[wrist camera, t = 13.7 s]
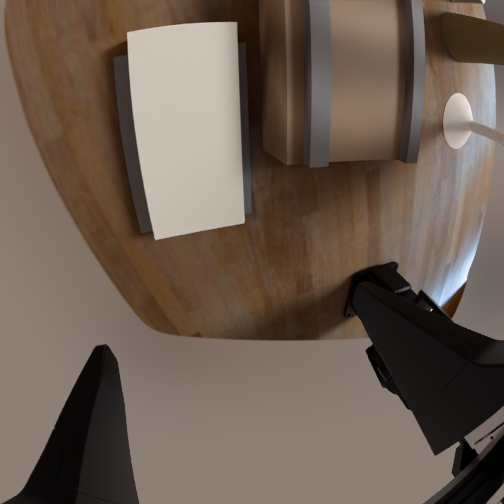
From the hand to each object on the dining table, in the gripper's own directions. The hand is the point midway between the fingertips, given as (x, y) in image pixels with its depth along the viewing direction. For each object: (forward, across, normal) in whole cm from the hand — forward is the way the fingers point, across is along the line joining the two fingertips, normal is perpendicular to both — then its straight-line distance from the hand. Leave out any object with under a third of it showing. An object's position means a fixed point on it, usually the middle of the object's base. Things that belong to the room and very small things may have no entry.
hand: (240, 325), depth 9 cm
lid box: (+12, -10, -9) cm, 18 cm away
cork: (+12, -27, -16) cm, 34 cm away
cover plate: (+12, 0, -4) cm, 12 cm away
